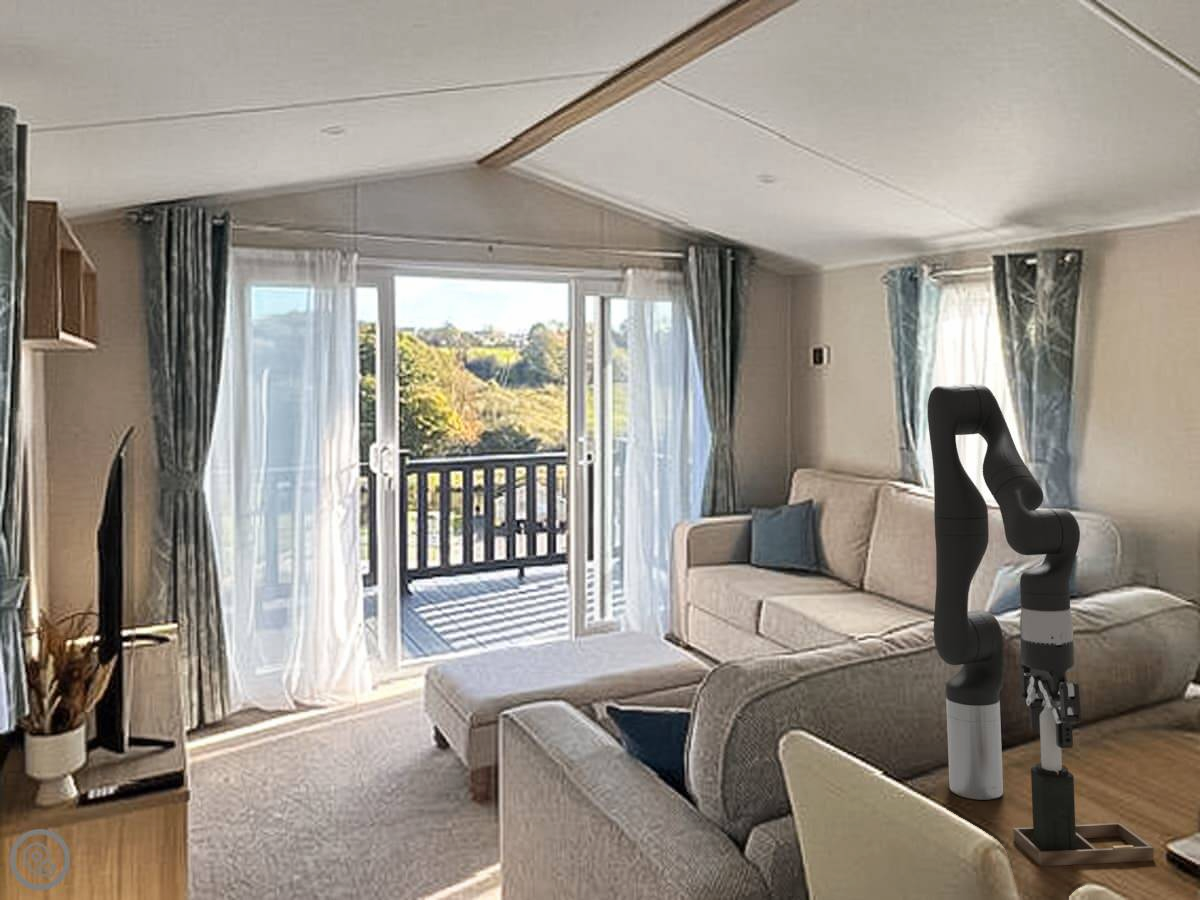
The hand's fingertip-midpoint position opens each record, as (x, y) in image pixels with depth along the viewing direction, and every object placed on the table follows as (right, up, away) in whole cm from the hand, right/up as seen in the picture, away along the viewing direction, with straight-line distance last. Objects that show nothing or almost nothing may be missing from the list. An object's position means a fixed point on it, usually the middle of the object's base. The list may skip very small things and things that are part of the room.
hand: (1050, 738), depth 145 cm
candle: (+1, -18, 0) cm, 18 cm away
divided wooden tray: (+5, -18, 0) cm, 19 cm away
